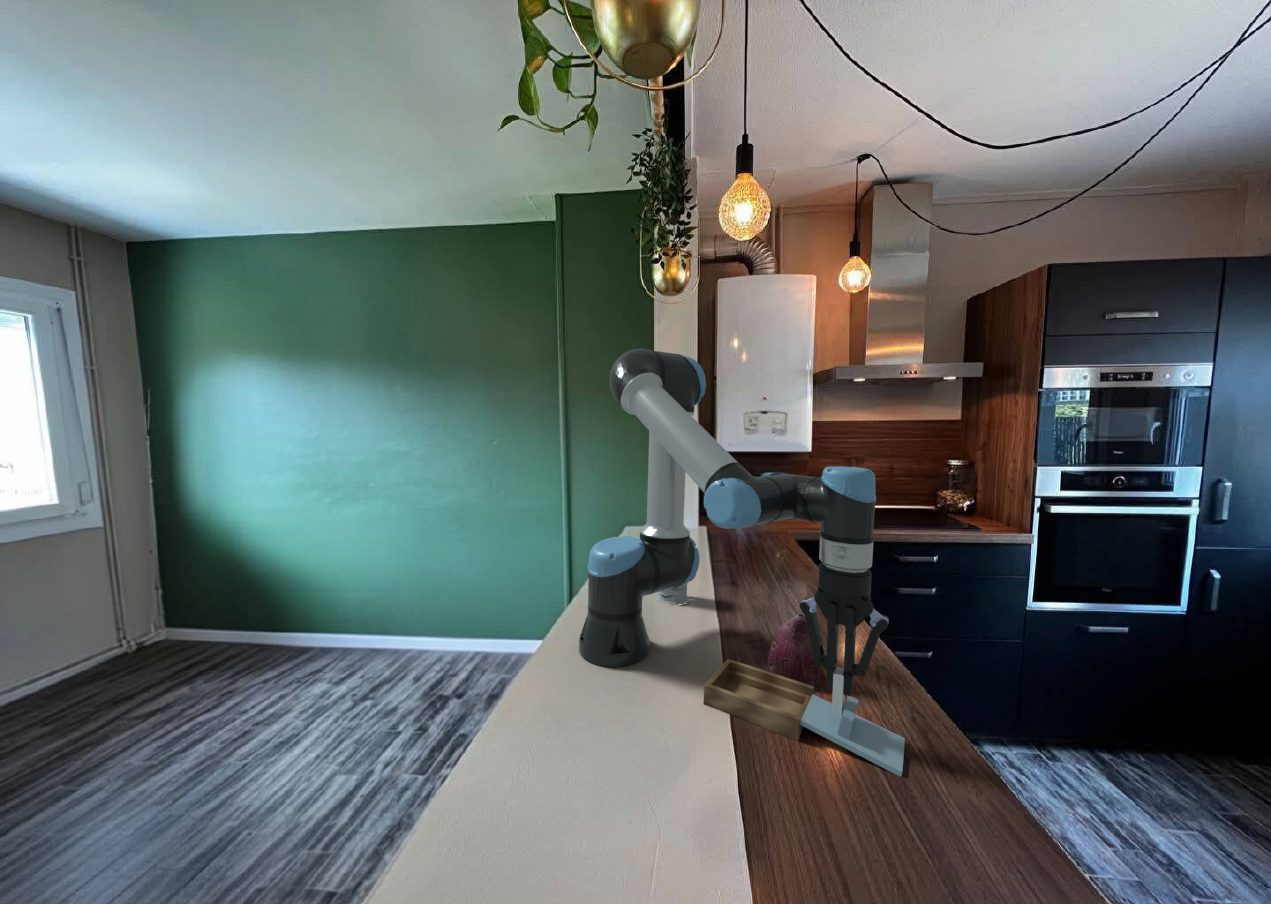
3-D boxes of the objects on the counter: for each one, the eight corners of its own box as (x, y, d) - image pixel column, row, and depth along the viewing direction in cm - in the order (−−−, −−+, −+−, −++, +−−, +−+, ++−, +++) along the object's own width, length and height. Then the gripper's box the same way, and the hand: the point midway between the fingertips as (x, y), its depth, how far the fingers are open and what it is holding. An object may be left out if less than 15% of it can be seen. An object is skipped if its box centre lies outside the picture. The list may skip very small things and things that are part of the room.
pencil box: (703, 704, 78) (704, 685, 78) (727, 675, 88) (727, 658, 87) (798, 741, 70) (799, 720, 70) (813, 705, 79) (814, 686, 79)
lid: (800, 724, 71) (805, 701, 70) (811, 698, 78) (816, 677, 77) (901, 777, 63) (907, 752, 63) (903, 742, 70) (909, 719, 70)
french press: (651, 592, 130) (654, 507, 129) (691, 592, 131) (694, 507, 130) (657, 606, 120) (660, 514, 119) (699, 605, 122) (702, 514, 120)
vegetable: (822, 705, 84) (842, 641, 79) (765, 690, 86) (782, 627, 81) (814, 664, 94) (832, 605, 89) (763, 652, 96) (778, 593, 91)
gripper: (796, 563, 71) (790, 708, 72) (890, 580, 64) (882, 741, 65) (806, 553, 77) (801, 686, 78) (894, 567, 70) (886, 713, 71)
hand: (838, 711), depth 71 cm, fingers closed
